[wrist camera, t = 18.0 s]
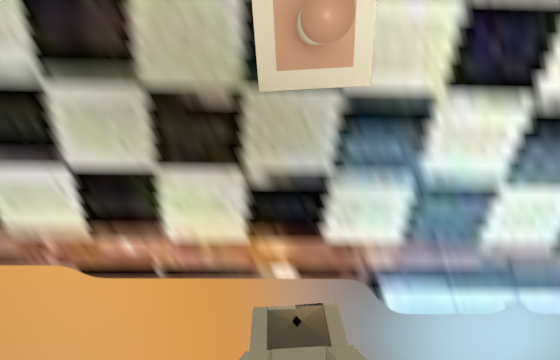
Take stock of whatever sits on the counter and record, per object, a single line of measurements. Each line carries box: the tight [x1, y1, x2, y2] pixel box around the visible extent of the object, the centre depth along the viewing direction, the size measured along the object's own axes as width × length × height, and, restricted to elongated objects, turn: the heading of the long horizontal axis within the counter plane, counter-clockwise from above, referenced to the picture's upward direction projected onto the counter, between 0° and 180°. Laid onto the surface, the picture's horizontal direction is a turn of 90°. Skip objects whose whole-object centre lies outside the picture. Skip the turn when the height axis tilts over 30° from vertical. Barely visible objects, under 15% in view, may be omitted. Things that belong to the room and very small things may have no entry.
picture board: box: [252, 0, 377, 92], centre depth 28 cm, size 12×12×1 cm
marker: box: [296, 0, 355, 46], centre depth 23 cm, size 4×4×9 cm
